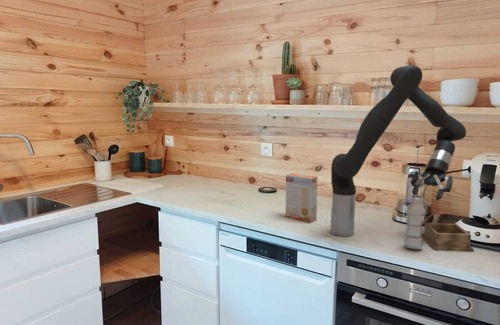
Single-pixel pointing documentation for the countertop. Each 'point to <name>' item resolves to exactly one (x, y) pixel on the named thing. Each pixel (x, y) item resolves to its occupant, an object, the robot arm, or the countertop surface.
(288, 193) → the cracker box
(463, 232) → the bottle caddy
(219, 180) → the countertop surface
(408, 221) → the plastic bottle
